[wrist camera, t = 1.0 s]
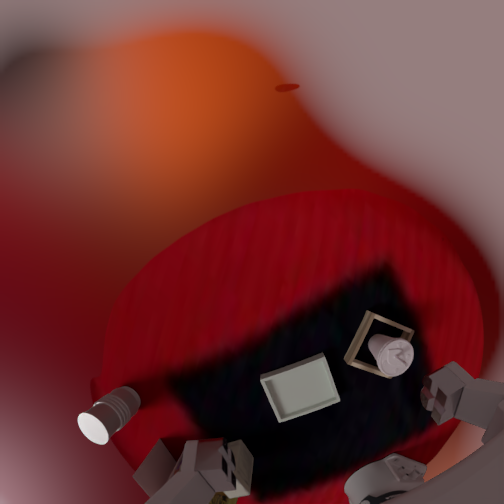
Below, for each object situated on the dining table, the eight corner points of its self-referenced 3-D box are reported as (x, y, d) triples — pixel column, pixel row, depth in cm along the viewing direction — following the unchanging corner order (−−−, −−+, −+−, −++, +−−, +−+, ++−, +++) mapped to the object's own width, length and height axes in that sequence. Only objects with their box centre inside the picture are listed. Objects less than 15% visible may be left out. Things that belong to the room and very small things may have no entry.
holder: (407, 327, 47) (414, 330, 44) (385, 373, 46) (390, 378, 43) (366, 310, 47) (372, 312, 44) (343, 358, 47) (347, 364, 44)
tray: (322, 352, 48) (324, 356, 45) (337, 395, 47) (340, 401, 45) (260, 374, 48) (260, 379, 46) (279, 416, 48) (279, 422, 45)
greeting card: (188, 474, 48) (169, 515, 33) (158, 464, 49) (134, 502, 34) (192, 441, 49) (171, 484, 34) (160, 431, 49) (131, 469, 34)
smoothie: (378, 320, 47) (411, 337, 33) (398, 340, 47) (433, 361, 33) (354, 346, 47) (380, 372, 33) (375, 365, 47) (404, 394, 33)
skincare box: (222, 443, 48) (211, 479, 36) (241, 438, 48) (233, 474, 36) (236, 463, 48) (228, 499, 35) (255, 458, 47) (250, 495, 35)
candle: (121, 378, 50) (81, 405, 35) (147, 397, 50) (113, 431, 35) (111, 397, 50) (74, 426, 35) (136, 417, 50) (103, 450, 35)
